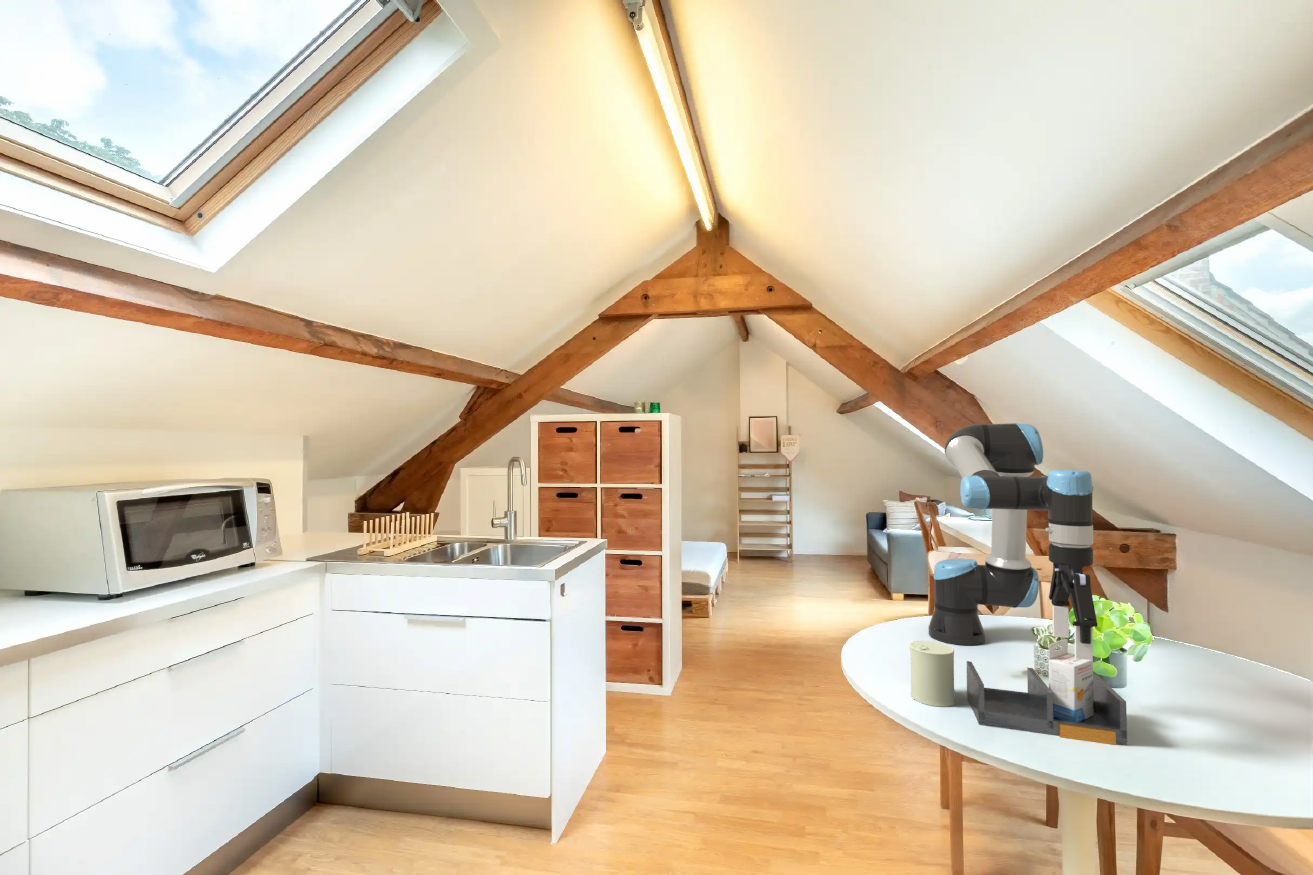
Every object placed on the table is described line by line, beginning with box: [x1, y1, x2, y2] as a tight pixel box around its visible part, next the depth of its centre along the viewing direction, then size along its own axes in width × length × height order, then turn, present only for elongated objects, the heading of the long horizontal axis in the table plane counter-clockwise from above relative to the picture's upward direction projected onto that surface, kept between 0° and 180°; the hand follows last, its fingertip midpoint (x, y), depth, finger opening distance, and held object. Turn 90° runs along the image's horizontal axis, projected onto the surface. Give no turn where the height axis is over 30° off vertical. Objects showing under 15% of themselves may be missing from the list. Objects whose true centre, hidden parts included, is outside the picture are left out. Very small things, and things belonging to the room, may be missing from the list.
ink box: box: [1048, 638, 1094, 722], centre depth 120 cm, size 8×5×15 cm, turn 122°
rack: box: [966, 660, 1128, 746], centre depth 120 cm, size 15×25×8 cm, turn 71°
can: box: [909, 640, 956, 708], centre depth 131 cm, size 9×9×12 cm
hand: (1071, 647), depth 119 cm, fingers open, 13 cm apart
